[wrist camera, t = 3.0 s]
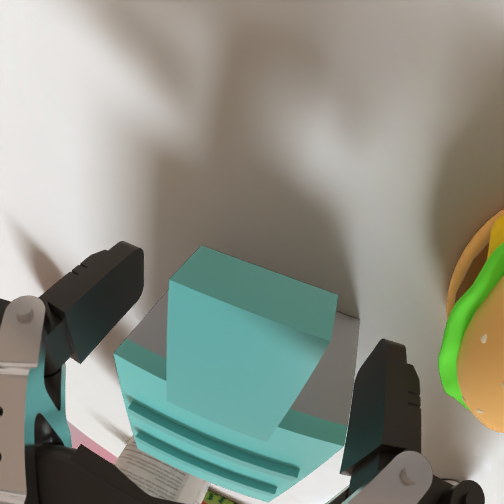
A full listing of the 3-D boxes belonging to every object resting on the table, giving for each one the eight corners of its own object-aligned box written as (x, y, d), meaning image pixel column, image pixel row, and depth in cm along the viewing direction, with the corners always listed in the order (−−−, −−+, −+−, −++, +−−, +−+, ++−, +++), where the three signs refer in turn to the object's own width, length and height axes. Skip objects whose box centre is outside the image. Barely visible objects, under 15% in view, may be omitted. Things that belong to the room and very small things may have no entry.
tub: (359, 319, 17) (347, 426, 11) (295, 417, 23) (272, 490, 17) (195, 259, 18) (126, 338, 13) (183, 374, 25) (143, 438, 19)
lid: (427, 310, 8) (438, 374, 6) (275, 482, 18) (264, 511, 16) (133, 205, 10) (80, 239, 8) (148, 430, 20) (132, 456, 18)
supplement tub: (136, 404, 32) (72, 498, 20) (185, 399, 27) (110, 524, 15) (191, 449, 34) (142, 538, 22) (246, 450, 29) (195, 562, 17)
